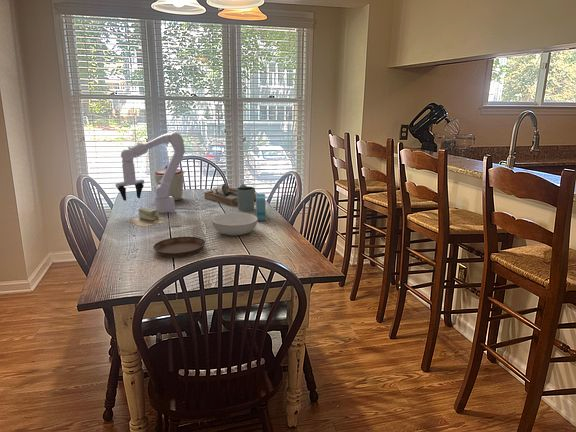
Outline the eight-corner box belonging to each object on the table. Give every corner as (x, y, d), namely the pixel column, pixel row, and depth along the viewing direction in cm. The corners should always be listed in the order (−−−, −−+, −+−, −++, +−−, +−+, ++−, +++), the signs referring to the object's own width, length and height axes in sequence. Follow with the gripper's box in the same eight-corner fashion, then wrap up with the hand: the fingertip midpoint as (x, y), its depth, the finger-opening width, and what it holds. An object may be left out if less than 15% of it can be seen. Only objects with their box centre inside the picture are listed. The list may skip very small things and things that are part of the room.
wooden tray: (228, 193, 280) (228, 187, 279) (256, 200, 262) (255, 193, 261) (204, 198, 267) (204, 192, 266) (231, 205, 249) (231, 199, 248)
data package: (265, 221, 218) (265, 198, 215) (256, 222, 218) (256, 198, 215) (265, 215, 230) (264, 193, 226) (256, 215, 229) (256, 193, 226)
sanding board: (153, 217, 227) (152, 214, 227) (170, 223, 215) (169, 220, 215) (125, 223, 217) (125, 220, 216) (141, 230, 205) (141, 227, 205)
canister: (173, 194, 277) (170, 161, 272) (192, 198, 267) (190, 164, 261) (149, 200, 263) (146, 165, 258) (168, 204, 253) (166, 168, 247)
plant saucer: (144, 251, 178) (143, 243, 177) (188, 239, 192) (187, 232, 191) (170, 264, 164) (170, 256, 163) (215, 251, 178) (215, 243, 177)
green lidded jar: (234, 210, 239) (233, 189, 236) (242, 206, 248) (242, 185, 245) (250, 212, 236) (249, 190, 233) (258, 207, 245) (258, 187, 242)
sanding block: (146, 216, 222) (146, 207, 221) (158, 219, 217) (157, 209, 216) (139, 218, 219) (138, 209, 217) (151, 221, 214) (150, 211, 212)
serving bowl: (221, 242, 188) (220, 227, 186) (206, 229, 206) (205, 215, 204) (265, 235, 197) (264, 221, 195) (247, 224, 215) (247, 210, 213)
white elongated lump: (211, 201, 260) (210, 185, 258) (215, 197, 270) (214, 181, 267) (252, 202, 258) (252, 185, 255) (255, 198, 268) (255, 182, 265)
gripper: (138, 170, 230) (141, 195, 233) (111, 173, 220) (114, 200, 224) (145, 172, 225) (147, 197, 229) (117, 175, 215) (120, 202, 219)
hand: (131, 199), depth 226 cm, fingers open, 7 cm apart
